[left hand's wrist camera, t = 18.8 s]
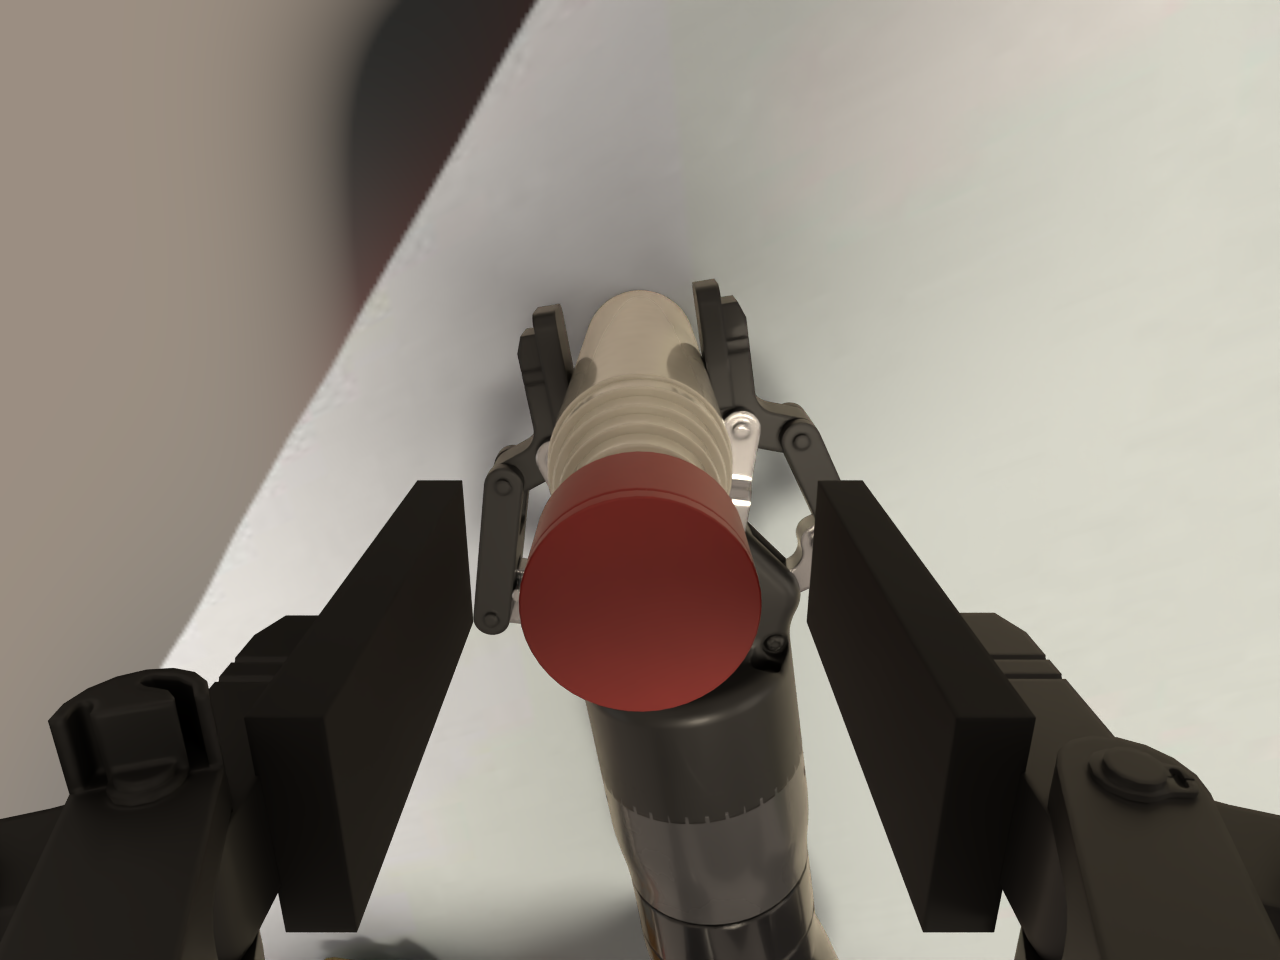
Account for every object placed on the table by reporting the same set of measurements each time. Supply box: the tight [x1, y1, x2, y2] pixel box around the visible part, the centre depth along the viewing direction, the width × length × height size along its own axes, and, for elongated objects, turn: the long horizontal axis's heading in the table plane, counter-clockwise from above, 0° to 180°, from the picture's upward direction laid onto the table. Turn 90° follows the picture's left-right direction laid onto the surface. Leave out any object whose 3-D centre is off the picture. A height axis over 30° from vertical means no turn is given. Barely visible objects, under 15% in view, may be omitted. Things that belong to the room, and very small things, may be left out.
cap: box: [519, 451, 762, 712], centre depth 14 cm, size 4×4×2 cm
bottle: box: [548, 290, 733, 496], centre depth 23 cm, size 4×4×20 cm
